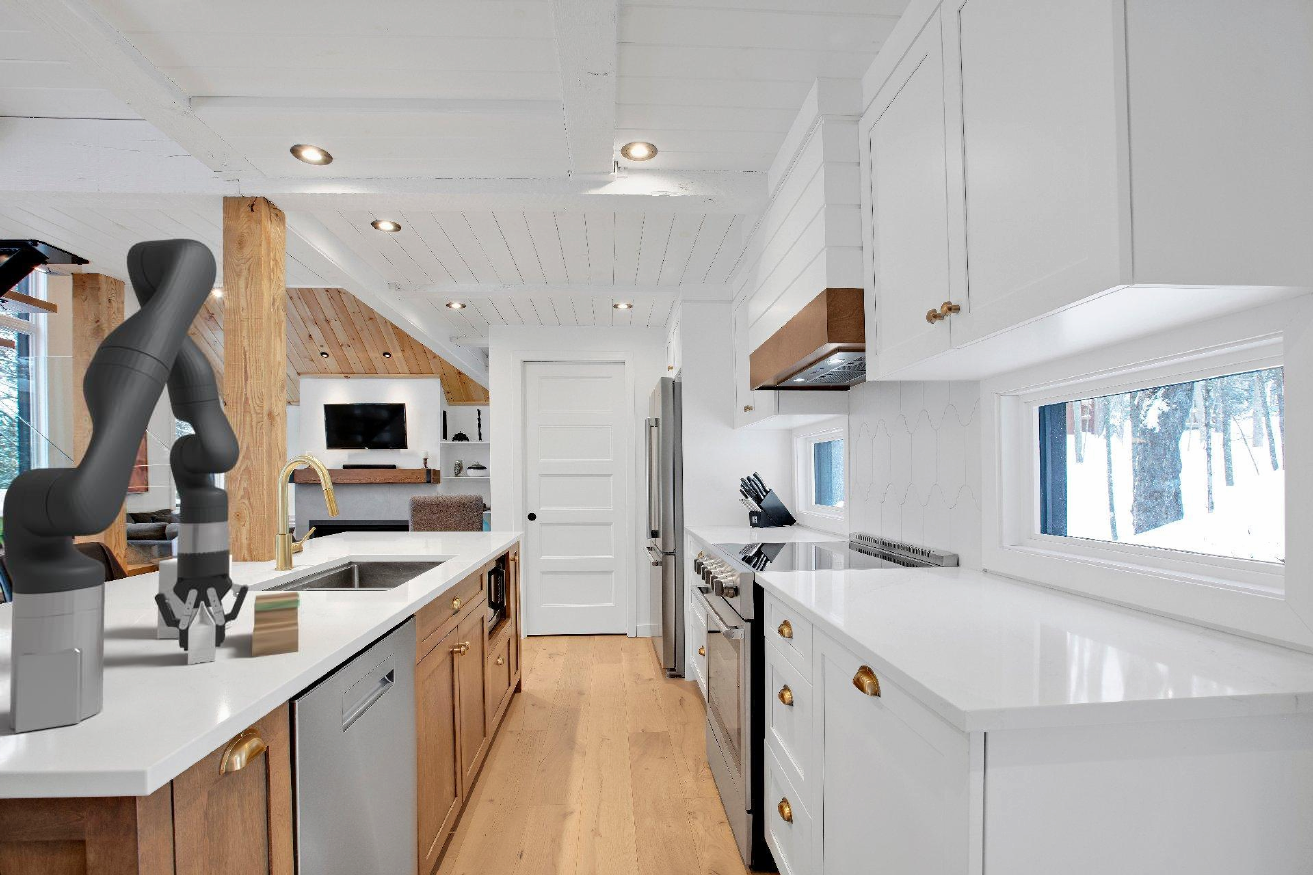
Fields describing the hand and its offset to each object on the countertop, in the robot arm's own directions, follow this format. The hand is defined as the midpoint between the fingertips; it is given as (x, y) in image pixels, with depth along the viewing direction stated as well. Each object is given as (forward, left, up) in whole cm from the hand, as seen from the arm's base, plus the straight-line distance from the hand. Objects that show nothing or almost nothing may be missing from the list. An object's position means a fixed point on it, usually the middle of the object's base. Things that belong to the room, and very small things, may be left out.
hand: (202, 647), depth 114 cm
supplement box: (+21, +3, -2) cm, 21 cm away
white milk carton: (0, 0, -2) cm, 2 cm away
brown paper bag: (+3, -11, -2) cm, 12 cm away
